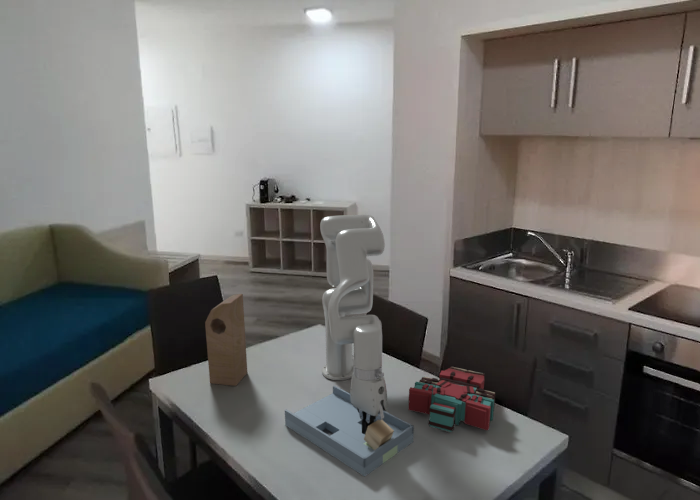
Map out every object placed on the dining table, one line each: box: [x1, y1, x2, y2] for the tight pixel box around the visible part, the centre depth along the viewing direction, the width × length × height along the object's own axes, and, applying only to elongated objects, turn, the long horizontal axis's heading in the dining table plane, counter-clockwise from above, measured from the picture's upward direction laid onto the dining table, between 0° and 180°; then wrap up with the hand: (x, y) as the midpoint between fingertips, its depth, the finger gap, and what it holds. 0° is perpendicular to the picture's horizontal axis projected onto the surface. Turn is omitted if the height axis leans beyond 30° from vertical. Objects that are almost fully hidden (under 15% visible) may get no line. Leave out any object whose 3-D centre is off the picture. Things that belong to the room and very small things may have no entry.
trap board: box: [284, 385, 415, 477], centre depth 141 cm, size 20×32×5 cm, turn 45°
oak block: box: [364, 420, 394, 450], centre depth 131 cm, size 5×5×5 cm
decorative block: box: [204, 293, 248, 387], centre depth 170 cm, size 10×10×30 cm
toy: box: [408, 366, 496, 433], centre depth 153 cm, size 24×9×30 cm
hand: (367, 432), depth 135 cm, fingers closed
